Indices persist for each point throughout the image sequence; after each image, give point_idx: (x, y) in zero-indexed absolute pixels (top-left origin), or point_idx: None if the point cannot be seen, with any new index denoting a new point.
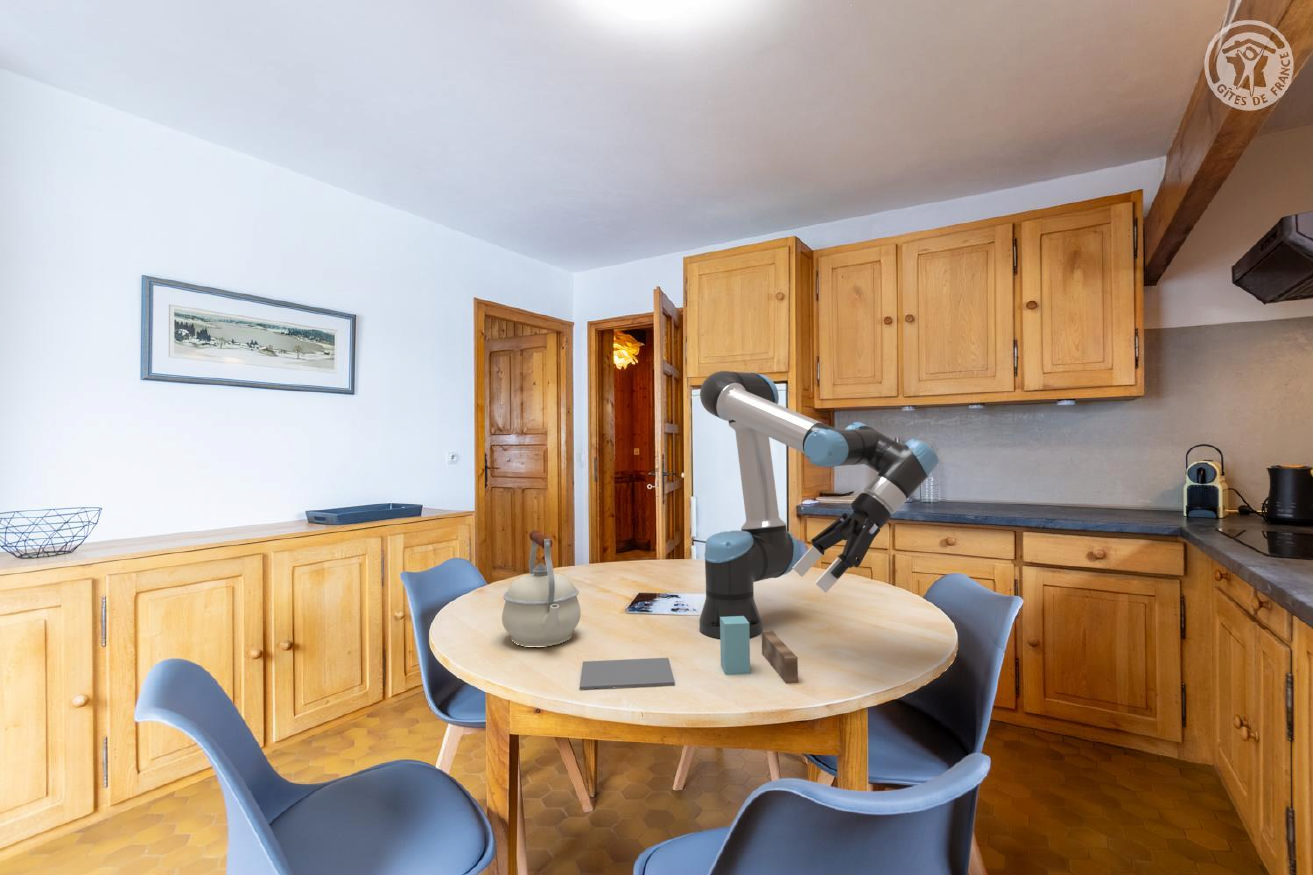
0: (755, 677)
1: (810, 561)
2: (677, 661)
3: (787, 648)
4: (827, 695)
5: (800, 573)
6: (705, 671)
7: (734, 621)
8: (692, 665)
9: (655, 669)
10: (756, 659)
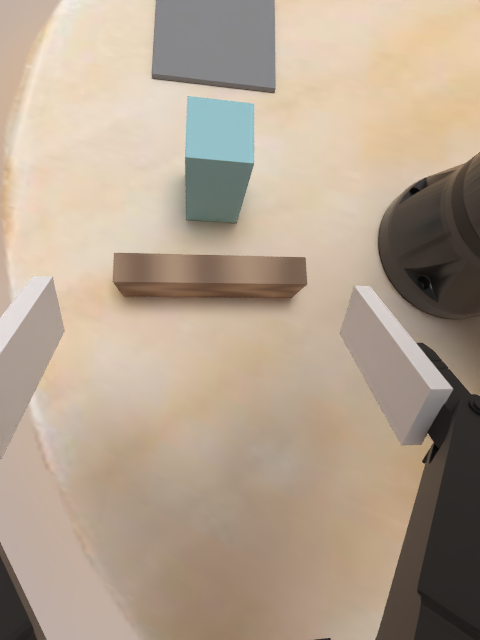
0: (164, 223)
1: (376, 369)
2: (267, 107)
3: (177, 279)
4: None
5: (346, 324)
6: None
7: (207, 126)
8: None
9: (218, 55)
10: (259, 253)
